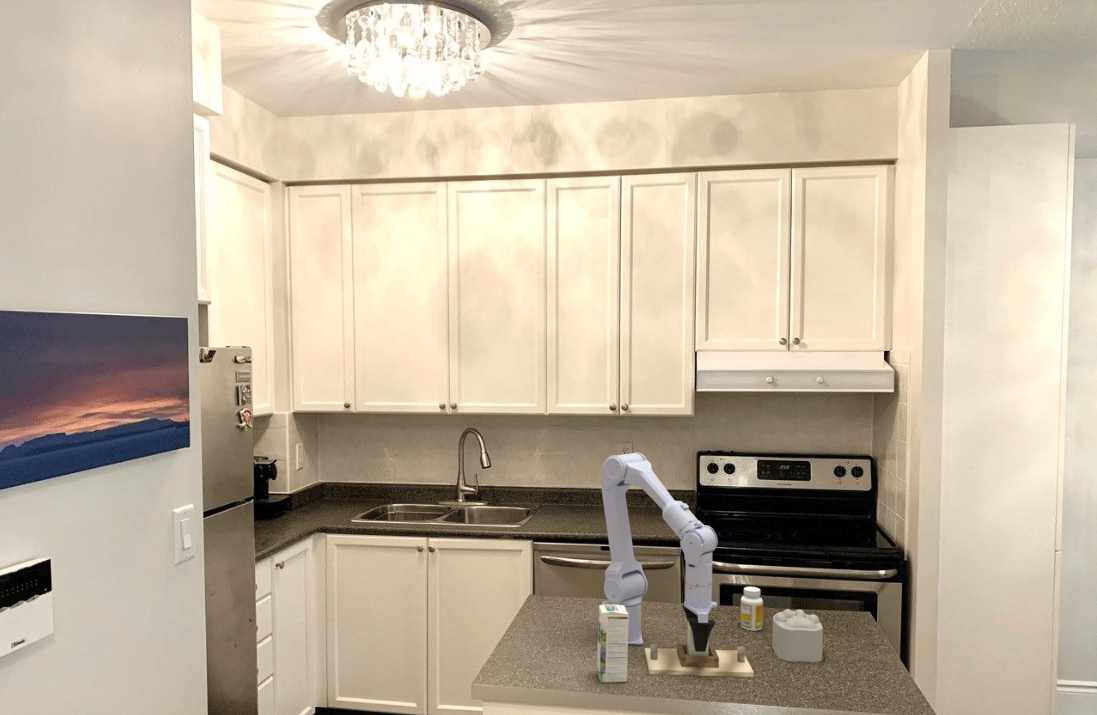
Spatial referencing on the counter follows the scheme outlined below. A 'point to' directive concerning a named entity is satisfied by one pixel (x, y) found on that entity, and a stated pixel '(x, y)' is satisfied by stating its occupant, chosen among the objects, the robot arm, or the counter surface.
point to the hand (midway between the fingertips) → (697, 644)
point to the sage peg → (691, 647)
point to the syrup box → (612, 643)
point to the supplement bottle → (751, 609)
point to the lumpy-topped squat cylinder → (797, 636)
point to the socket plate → (698, 662)
